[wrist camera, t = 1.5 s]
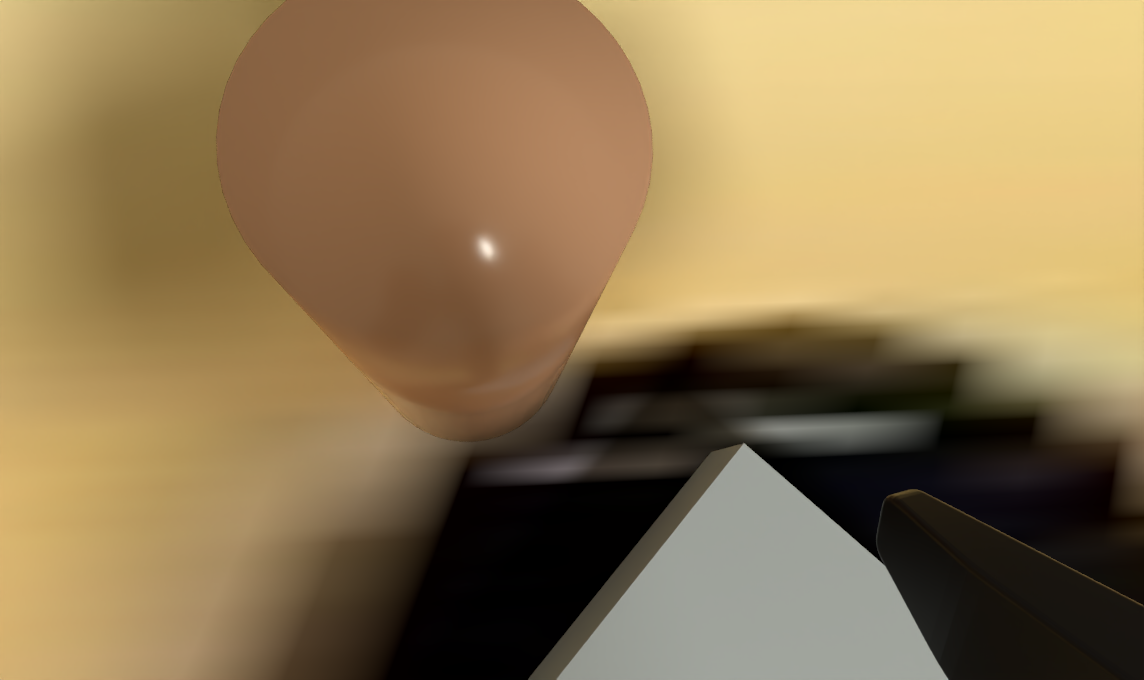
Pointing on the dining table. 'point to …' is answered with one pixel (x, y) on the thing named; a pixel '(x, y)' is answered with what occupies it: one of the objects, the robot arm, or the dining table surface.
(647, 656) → the block
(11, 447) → the dining table surface
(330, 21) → the cargo canister
